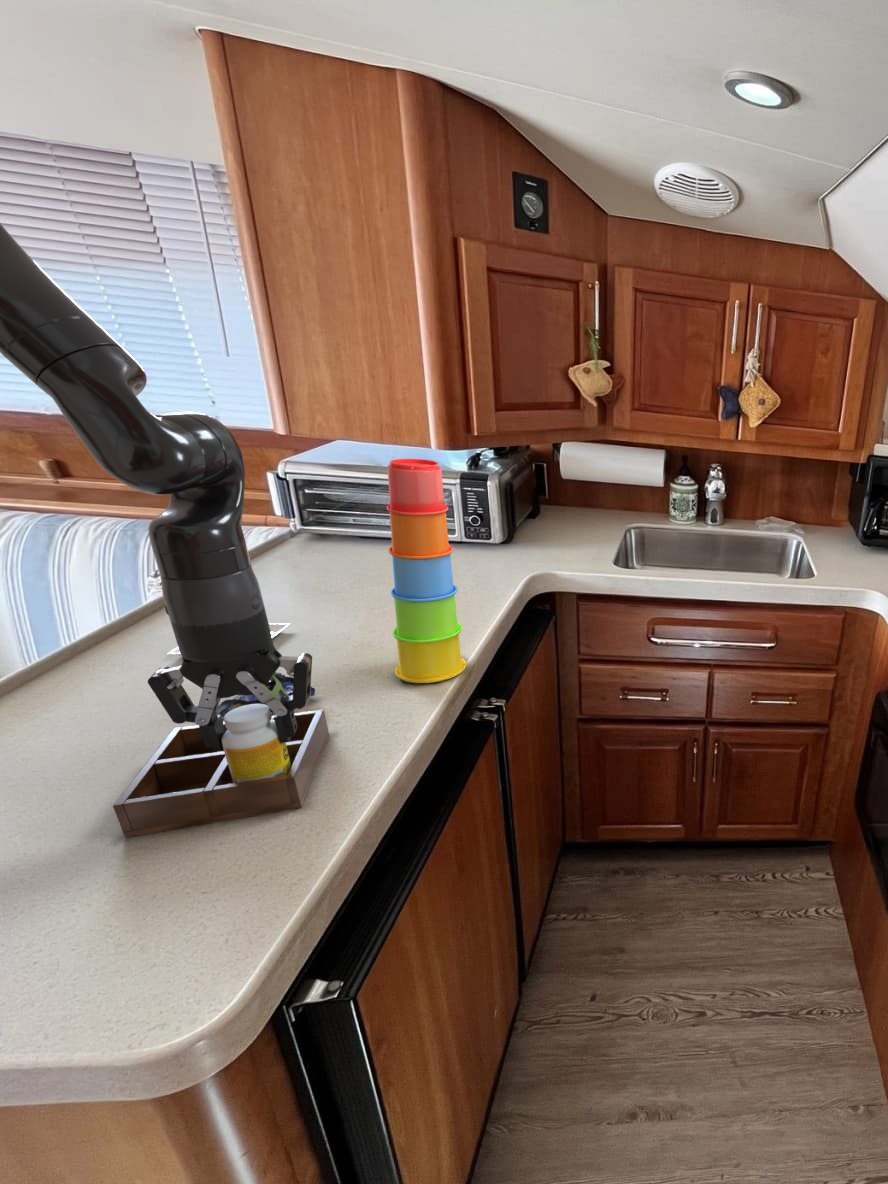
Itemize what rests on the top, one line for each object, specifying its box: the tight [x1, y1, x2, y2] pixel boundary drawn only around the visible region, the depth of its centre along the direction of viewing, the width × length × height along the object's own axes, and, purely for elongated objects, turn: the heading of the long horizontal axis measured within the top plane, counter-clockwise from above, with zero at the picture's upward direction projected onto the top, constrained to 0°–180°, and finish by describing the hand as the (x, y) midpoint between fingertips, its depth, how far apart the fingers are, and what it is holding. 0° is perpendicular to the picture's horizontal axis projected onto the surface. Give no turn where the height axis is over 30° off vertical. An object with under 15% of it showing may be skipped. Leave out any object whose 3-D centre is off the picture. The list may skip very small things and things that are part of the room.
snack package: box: [216, 671, 316, 718], centre depth 92 cm, size 12×6×12 cm
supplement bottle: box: [222, 704, 291, 783], centre depth 73 cm, size 5×5×10 cm
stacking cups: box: [386, 458, 467, 684], centre depth 99 cm, size 10×10×35 cm
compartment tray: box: [112, 709, 330, 839], centre depth 77 cm, size 15×15×4 cm
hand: (254, 742), depth 73 cm, fingers closed on supplement bottle, 5 cm apart
